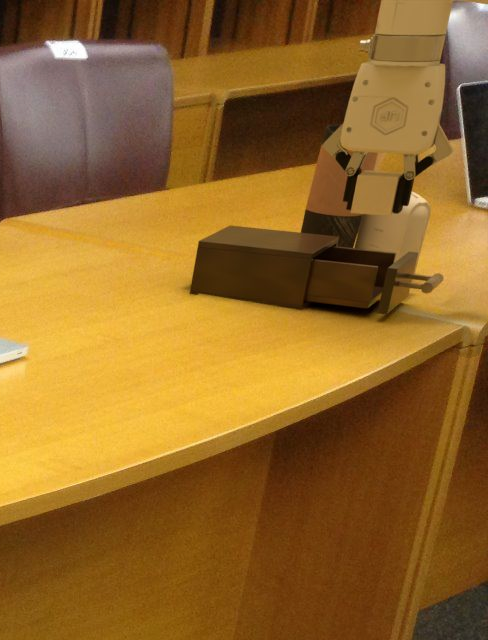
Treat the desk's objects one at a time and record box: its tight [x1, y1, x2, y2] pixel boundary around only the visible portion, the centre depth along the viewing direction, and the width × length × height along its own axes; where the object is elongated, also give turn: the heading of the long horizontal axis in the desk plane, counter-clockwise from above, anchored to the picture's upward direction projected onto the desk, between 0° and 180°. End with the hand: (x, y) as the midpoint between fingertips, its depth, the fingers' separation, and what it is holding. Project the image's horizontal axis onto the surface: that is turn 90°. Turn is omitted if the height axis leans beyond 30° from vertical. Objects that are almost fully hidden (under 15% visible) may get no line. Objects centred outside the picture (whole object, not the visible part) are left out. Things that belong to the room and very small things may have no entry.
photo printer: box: [353, 191, 432, 282], centre depth 218 cm, size 10×4×12 cm, turn 13°
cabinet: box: [189, 225, 339, 311], centre depth 209 cm, size 15×15×8 cm
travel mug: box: [300, 124, 378, 248], centre depth 220 cm, size 8×8×20 cm
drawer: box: [304, 246, 444, 315], centre depth 202 cm, size 18×13×6 cm
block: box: [351, 170, 404, 216], centre depth 188 cm, size 4×4×4 cm
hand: (374, 208), depth 188 cm, fingers closed on block, 4 cm apart
